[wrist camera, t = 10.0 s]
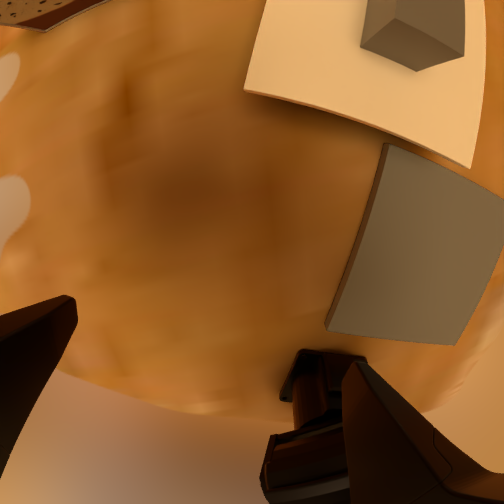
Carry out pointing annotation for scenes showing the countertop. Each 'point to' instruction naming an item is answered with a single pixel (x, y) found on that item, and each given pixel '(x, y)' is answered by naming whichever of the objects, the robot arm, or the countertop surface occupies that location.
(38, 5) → the food container
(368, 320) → the mat
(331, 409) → the robot arm
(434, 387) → the countertop surface
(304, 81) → the lid
